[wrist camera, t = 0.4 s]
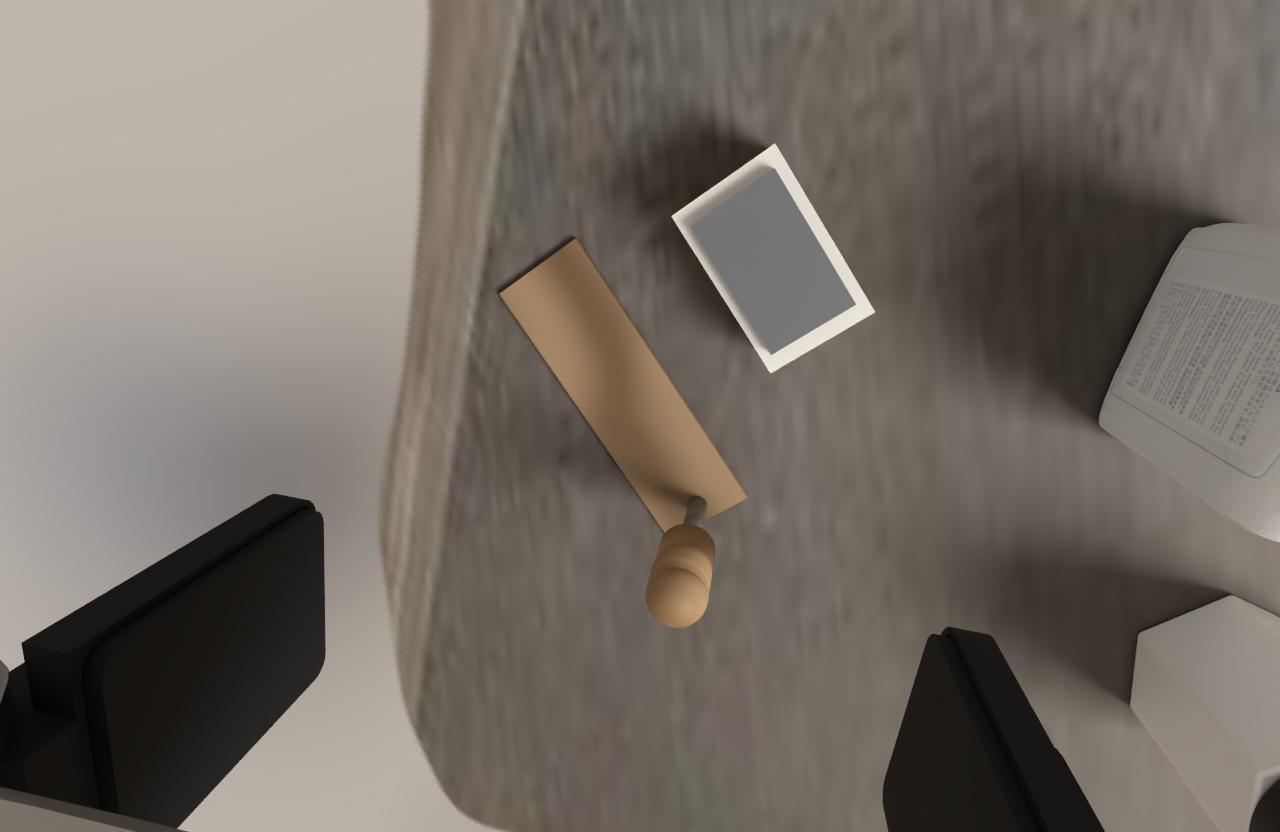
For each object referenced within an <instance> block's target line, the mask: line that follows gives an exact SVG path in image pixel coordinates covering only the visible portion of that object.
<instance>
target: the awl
mask: <svg viewBox="0 0 1280 832" xmlns="http://www.w3.org/2000/svg"><path fill="white" fill-rule="evenodd" d="M706 508H707V502H706V500H705V499H704V498H703V497H701V496H694V497H692V498H691V499H690V500H689V502H688V506H687V510H686V514H685V518H684V522H683V524H679V525H676V526H673V527H672V528H670V529H669V530H667V531H666V532H665V534H664V535H663V537H662V539H661V542H660V545H659V549H658V552H657V555H656V558H655V561H654V565H653V568H652V571H651V574H650V578H649V581H648V584H647V587H646V603H647V606H648V609H649V611H650V612H651V614H652V615H653V617H654V618H655V619H656V620H657V621H659V622H660V623H662V624H664V625H666V626H669V627H673V628H682V627H686V626H689V625H691V624H693V623H695V622H696V621H697V620H698V619H699V618H700V617H701V616H702V615H703V613H704V611H705V609H706V607H707V603H708V597H709V591H710V584H711V577H712V570H713V564H714V557H715V545H714V542H713V540H712V538H711V536H710V535H709V534H708V533H707V532H706V531H705V530H704V529H702V528H703V523H704V518H705V513H706Z"/></svg>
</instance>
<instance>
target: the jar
mask: <svg viewBox="0 0 1280 832" xmlns="http://www.w3.org/2000/svg"><path fill="white" fill-rule="evenodd" d="M1130 707H1131V709H1132V710H1133V712H1134V713H1135V715H1136V716H1137V717H1138V719H1139V720H1140V722H1141V723H1142V724H1143V726H1144V727H1145V729H1146V730H1147V731H1148V733H1149V734H1150V736H1151V737H1152V738H1153V740H1154V741H1155V743H1156V744H1157V745H1158V747H1159V748H1160V750H1161V751H1162V752H1163V754H1164V755H1165V757H1166V758H1167V760H1168V761H1169V762H1170V764H1171V765H1172V767H1173V768H1174V769H1175V771H1176V772H1177V774H1178V775H1179V776H1180V778H1181V779H1182V781H1183V782H1184V783H1185V785H1186V786H1187V788H1188V789H1189V790H1190V792H1191V793H1192V795H1193V796H1194V797H1195V799H1196V800H1197V802H1198V803H1199V804H1200V806H1201V807H1202V809H1203V810H1204V811H1205V813H1206V814H1207V816H1208V817H1209V818H1210V820H1211V821H1212V823H1213V824H1214V825H1215V827H1216V828H1217V830H1218V831H1219V832H1280V617H1278V616H1276V615H1274V614H1272V613H1270V612H1268V611H1266V610H1263V609H1261V608H1259V607H1257V606H1255V605H1253V604H1251V603H1249V602H1247V601H1245V600H1242V599H1240V598H1238V597H1236V596H1232V595H1231V596H1227V597H1224V598H1222V599H1219V600H1217V601H1215V602H1212V603H1210V604H1207V605H1205V606H1203V607H1200V608H1198V609H1195V610H1193V611H1190V612H1188V613H1186V614H1183V615H1181V616H1178V617H1176V618H1174V619H1171V620H1169V621H1166V622H1164V623H1161V624H1159V625H1157V626H1154V627H1152V628H1149V629H1147V630H1145V631H1142V632H1140V633H1139V634H1138V639H1137V648H1136V657H1135V665H1134V674H1133V683H1132V692H1131V701H1130Z"/></svg>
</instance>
